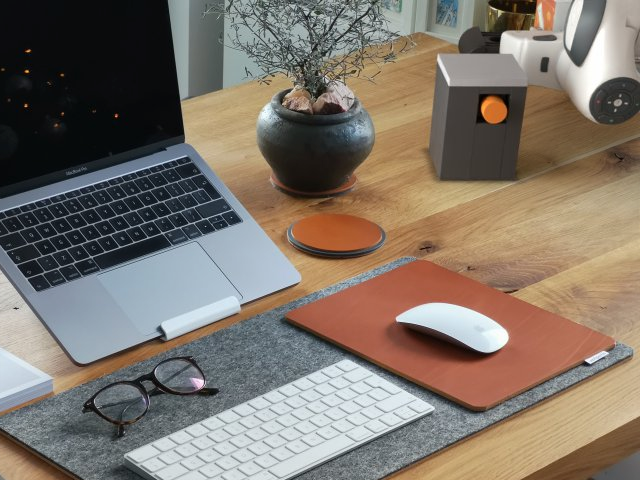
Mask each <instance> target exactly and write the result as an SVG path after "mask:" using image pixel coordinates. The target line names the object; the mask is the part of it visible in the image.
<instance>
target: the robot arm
mask: <svg viewBox="0 0 640 480" xmlns="http://www.w3.org/2000/svg"><path fill="white" fill-rule="evenodd" d="M502 32H503V33H502V36H501V41H500V54H513V56H514V58H515V59H516V61H517V62H518V64H519V65H520V67H521V68H522V70H523V71H524V73H525V75H526V76H527V78H528V79H529V80H528V86H531V87H541V88H544V87H546V88H545V89H552V90H555V91H558V92H560V93H565V94H567V97H568V98H569V100H570V101H571V103H572V104H573V106H574V107H575V108H576V109H577V110H578V111H579V112H580V113H581V115H583V116H584V117H585V118H587V119H588V120H589V121H592V122H593V123H596V124H598V125H602V126H617V125H621V124H624V123H626V122H628V121H630V120H632V119H633V118H634V117H636V116H637V115H638V114H639V113H640V72H639V71H638V69H639V68H640V0H572V2H571V4H570V6H569V9H568V13H567V16H566V20H565V26H564V30H543V29H542V28H541V27H534V26H530V28H529V30H505V31H502Z"/></svg>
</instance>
